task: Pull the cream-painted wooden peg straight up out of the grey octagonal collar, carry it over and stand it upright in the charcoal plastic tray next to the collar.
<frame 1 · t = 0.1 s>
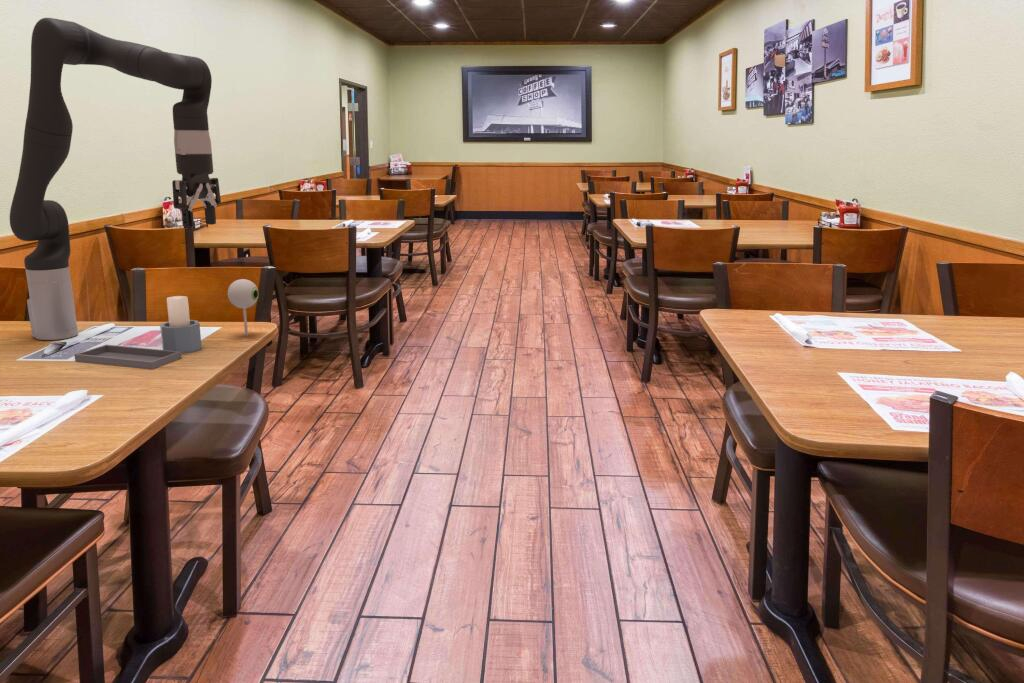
hand: (200, 226, 173), 29 cm above the table, fingers open, 8 cm apart
tray: (129, 364, 169), on the table
grey octagonal collar: (182, 353, 178), on the table
lollipop: (246, 339, 191), on the table
peg: (182, 349, 178), point 1 cm above the table, touching grey octagonal collar
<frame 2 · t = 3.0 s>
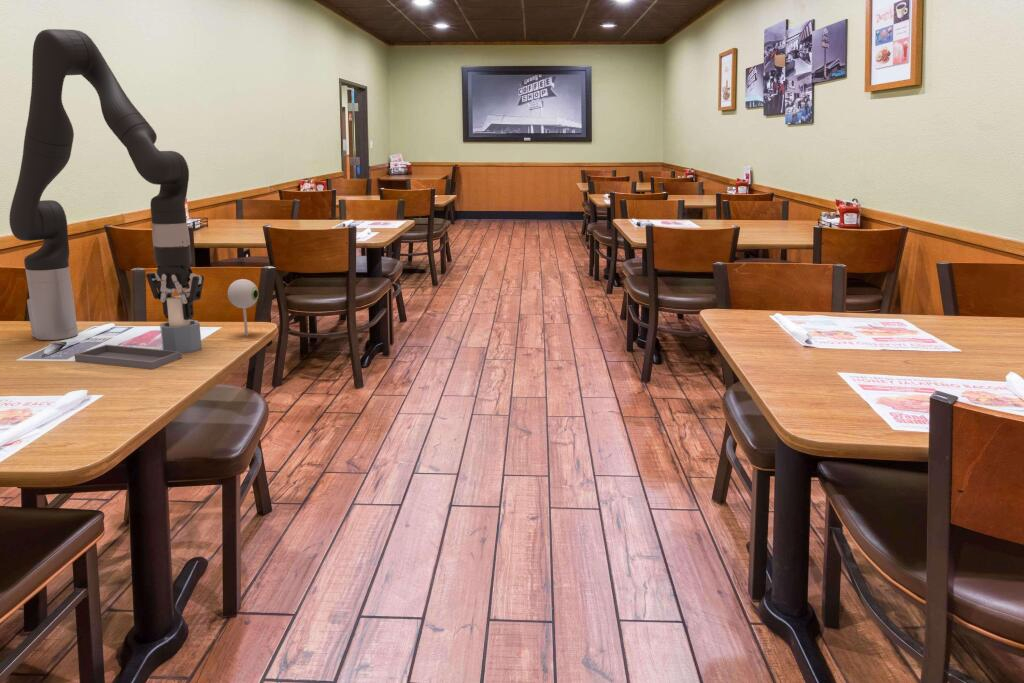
hand: (179, 318, 176), 8 cm above the table, fingers closed on peg, 4 cm apart
peg: (182, 349, 178), point 1 cm above the table, touching grey octagonal collar, gripper
everything else where it was.
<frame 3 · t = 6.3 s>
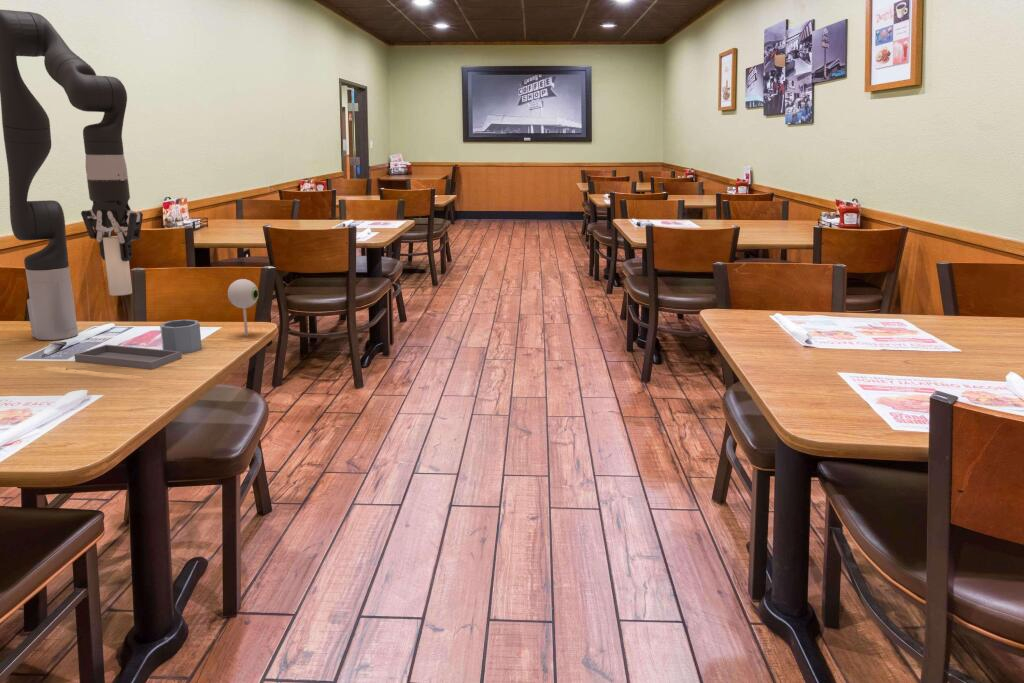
hand: (117, 259, 163), 23 cm above the table, fingers closed on peg, 4 cm apart
peg: (121, 293, 165), point 16 cm above the table, touching gripper
everything else where it was.
when the fingers open (9 cm above the table, at t = 9.5 s): peg stays where it is, resting on tray.
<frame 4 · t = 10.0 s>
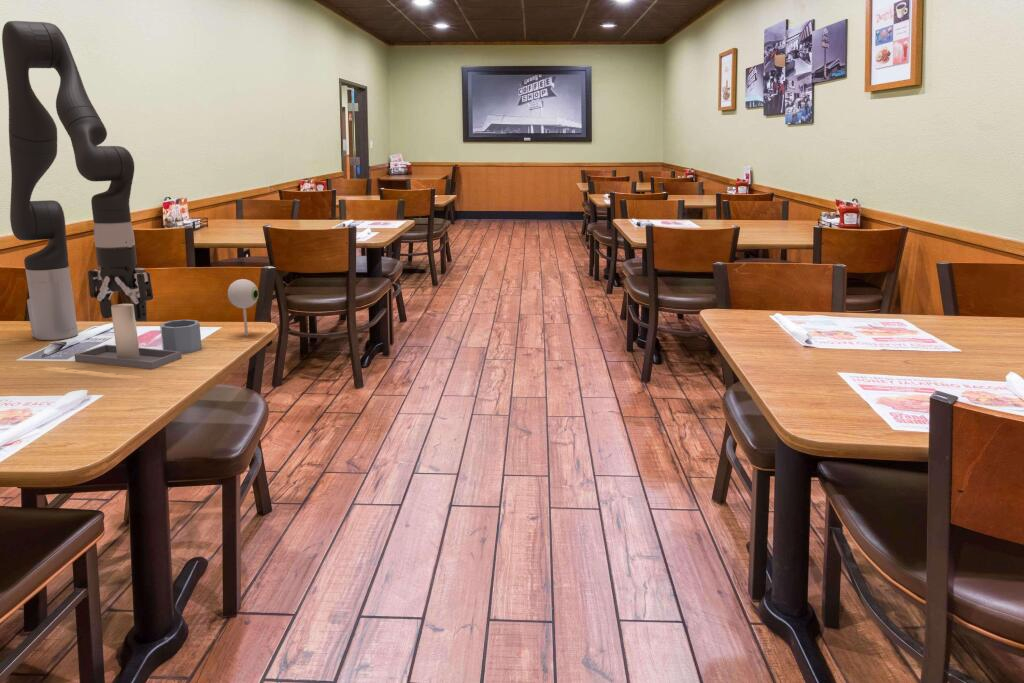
hand: (124, 319, 167), 10 cm above the table, fingers open, 8 cm apart
peg: (128, 359, 169), point 1 cm above the table, touching tray
everything else where it was.
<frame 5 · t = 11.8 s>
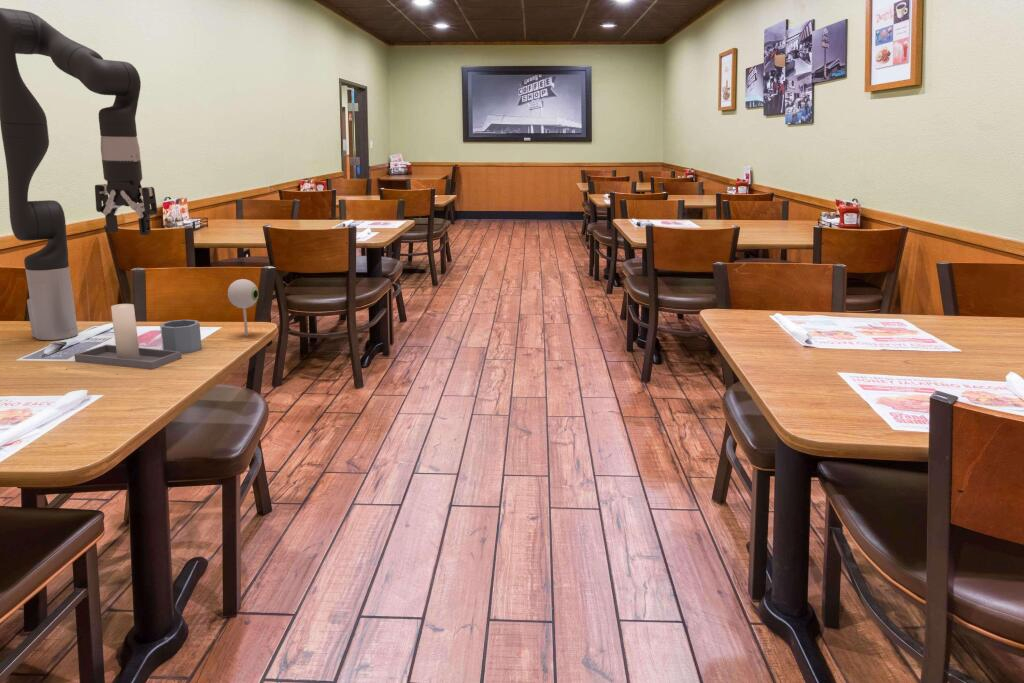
hand: (129, 233, 171), 27 cm above the table, fingers open, 8 cm apart
nothing on the table moved.
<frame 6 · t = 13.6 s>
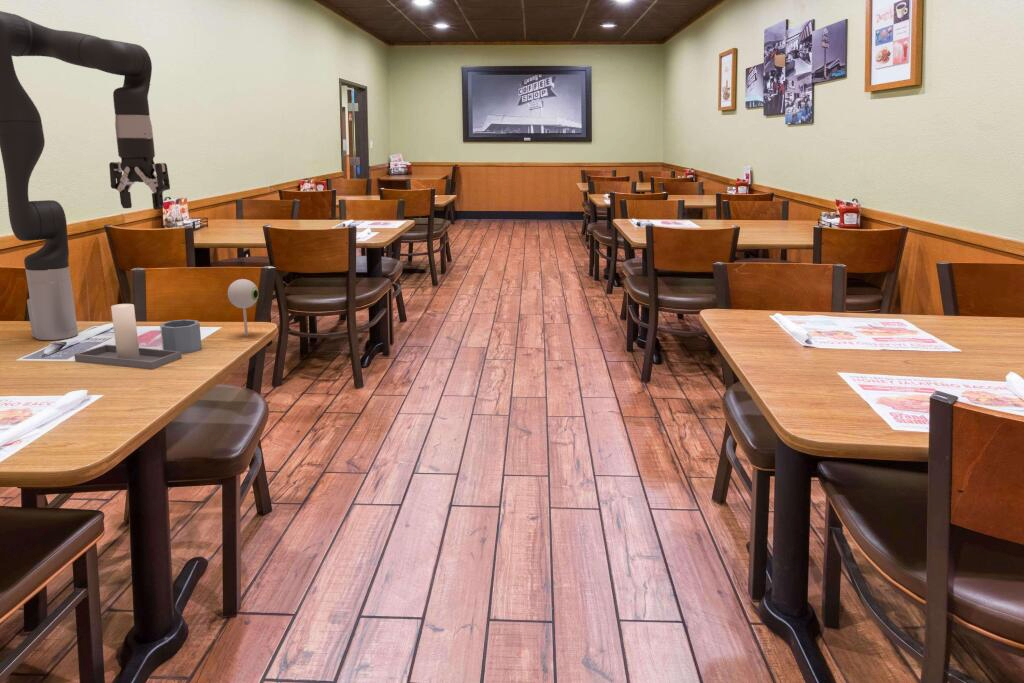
hand: (142, 208, 179), 32 cm above the table, fingers open, 8 cm apart
nothing on the table moved.
at the end: peg inside the target area on the tray (0.0 cm from its centre), point 1.0 cm above the tray's base; peg tilted 0°; the gripper is holding nothing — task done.
